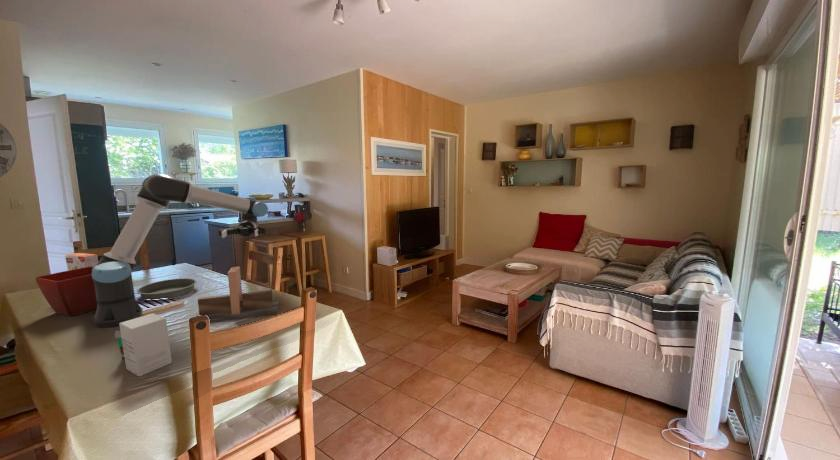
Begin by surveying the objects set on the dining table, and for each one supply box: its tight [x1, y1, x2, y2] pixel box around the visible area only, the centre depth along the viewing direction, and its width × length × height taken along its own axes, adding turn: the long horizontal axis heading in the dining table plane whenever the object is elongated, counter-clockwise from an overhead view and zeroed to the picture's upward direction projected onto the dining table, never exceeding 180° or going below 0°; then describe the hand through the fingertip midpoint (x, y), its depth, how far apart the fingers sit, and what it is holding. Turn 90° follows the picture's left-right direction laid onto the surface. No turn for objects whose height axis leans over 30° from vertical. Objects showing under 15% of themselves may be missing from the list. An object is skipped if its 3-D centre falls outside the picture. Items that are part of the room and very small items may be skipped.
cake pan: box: [136, 277, 198, 301], centre depth 174 cm, size 25×25×4 cm
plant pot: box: [35, 267, 97, 317], centre depth 152 cm, size 19×19×17 cm
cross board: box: [193, 289, 280, 323], centre depth 147 cm, size 14×32×8 cm, turn 108°
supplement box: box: [118, 312, 173, 377], centre depth 105 cm, size 9×9×15 cm
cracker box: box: [64, 252, 99, 271], centre depth 172 cm, size 14×6×21 cm, turn 73°
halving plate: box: [227, 266, 243, 314], centre depth 146 cm, size 9×3×18 cm, turn 18°
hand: (239, 234), depth 158 cm, fingers open, 13 cm apart
